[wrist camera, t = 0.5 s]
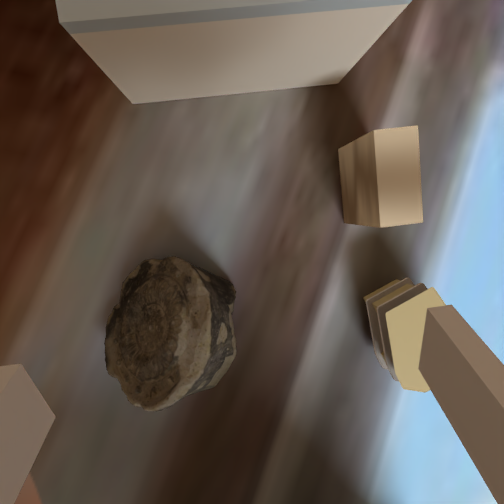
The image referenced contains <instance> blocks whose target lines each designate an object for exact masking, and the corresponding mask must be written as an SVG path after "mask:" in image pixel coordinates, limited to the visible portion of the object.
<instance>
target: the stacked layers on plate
mask: <svg viewBox="0 0 504 504" xmlns="http://www.w3.org/2000/svg"><path fill="white" fill-rule="evenodd" d="M363 298H364V300H365V302H366V306H367V312H368V317H369V323H370V329H371V334H372V340H373V346H374V352H375V355H376V357H377V359H378V361H379V363H380V364H381V366H382V368H383V369H388V370H389V371H390V373H391V375H392V377H393V379H394V380H395V381H399V382H400V384H401V386H402V388H403V389H407V390H413V391H419V392H427V391H429V390H430V388H429V386H428V384H427V383H426V381H425V379H424V378H423V376H422V374H421V372H420V371H419V369H418V367H419V360H420V353H421V347H422V340H423V333H424V326H425V319H426V312H427V308H431V307H438V306H445V305H446V304H445V303H444V302H443V300H442V299H441V297H440V296H439V294H438V293H437V291H436V290H435V289H434V288H433V287H431V288H429V289H427V288H426V286H425V285H424V284H423V283H419V284H417V285H414V284H413V282H412V281H411V279H410V278H405V279H403V280H401V281H400V280H398V279H396V280H394V281H392V282H390V283H388V284H387V285H385V286H383V287H381V288H379V289H378V290H376V291H374V292H372V293H370V294H369V295H367V296H365V297H363Z"/></svg>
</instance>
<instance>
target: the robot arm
mask: <svg viewBox="0 0 504 504" xmlns="http://www.w3.org/2000/svg"><path fill="white" fill-rule="evenodd" d="M418 369H419V371H420V372H421V374H422V376H423V378H424V379H425V381H426V383H427V384H428V386H429V388H430V389H431V391H432V393H433V395H434V396H435V398H436V400H437V401H438V403H439V405H440V406H441V408H442V410H443V412H444V413H445V415H446V417H447V418H448V420H449V422H450V423H451V425H452V427H453V429H454V430H455V432H456V434H457V435H458V437H459V439H460V440H461V442H462V444H463V446H464V447H465V449H466V451H467V452H468V454H469V456H470V457H471V459H472V461H473V463H474V464H475V466H476V468H477V469H478V471H479V473H480V474H481V476H482V478H483V480H484V481H485V483H486V485H487V486H488V488H489V490H490V491H491V493H492V495H493V497H494V498H495V500H496V502H497V503H498V504H504V365H503V364H502V362H501V361H500V360H499V359H498V358H497V357H496V355H495V354H494V353H493V352H492V351H491V350H490V349H489V347H488V346H487V345H486V344H485V343H484V342H483V341H482V339H481V338H480V337H479V336H478V335H477V334H476V332H475V331H474V330H473V329H472V328H471V327H470V326H469V324H468V323H467V322H466V321H465V320H464V319H463V317H462V316H461V315H460V314H459V313H458V312H457V311H456V309H455V308H454V307H453V306H452V305H445V306H438V307H431V308H427V312H426V319H425V326H424V333H423V340H422V347H421V353H420V360H419V367H418ZM55 418H56V416H55V415H54V413H53V412H52V410H51V409H50V407H49V406H48V404H47V403H46V401H45V400H44V398H43V396H42V395H41V393H40V392H39V390H38V389H37V387H36V386H35V384H34V383H33V381H32V380H31V378H30V376H29V375H28V373H27V372H26V370H25V369H24V367H23V366H22V364H13V365H6V366H0V504H14V503H15V501H16V499H17V497H18V495H19V492H20V490H21V488H22V486H23V484H24V482H25V480H26V478H27V476H28V474H29V472H30V470H31V468H32V466H33V463H34V461H35V459H36V457H37V455H38V453H39V451H40V449H41V447H42V445H43V443H44V440H45V438H46V436H47V434H48V432H49V430H50V428H51V426H52V424H53V422H54V420H55Z"/></svg>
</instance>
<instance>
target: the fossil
mask: <svg viewBox="0 0 504 504" xmlns="http://www.w3.org/2000/svg"><path fill="white" fill-rule="evenodd" d="M235 294H236V291H235V289H234V286H233V285H232V284H231V283H230V282H228V281H226V280H225V279H223V278H220V277H218V276H216V275H214V274H212V273H209V272H207V271H205V270H203V269H201V268H198V267H196V266H194V265H192V264H190V263H189V262H187V261H185V260H183V259H181V258H178V257H176V256H171V257H167V258H165V259H164V260H158V259H149V260H144V261H143V262H142V263H141V264H140V265H139V266H137V268H136V269H135V270H134V271H133V272H132V273H131V274H129V276H128V277H127V278H126V280H125V281H124V282H123V285H122V289H121V296H120V302H119V304H118V305H116V306H115V307H114V308H113V311H112V313H111V315H110V316H109V318H108V321H107V326H106V338H105V343H104V344H105V361H106V368H107V371H108V374H109V375H111V376H112V377H114V378H117V379H118V381H119V382H120V384H121V387H122V390H123V392H124V393H125V394H126V396H127V399H128V401H129V402H130V403H131V404H133V405H135V406H137V407H141V406H142V408H143V409H144V410H146V411H160V410H163V409H166V408H168V407H170V406H172V405H173V404H175V403H176V402H178V401H179V400H181V399H182V398H184V397H185V396H188V395H191V394H194V393H196V392H200V391H204V390H208V389H211V388H213V387H215V386H216V385H217V384H218V382H219V381H220V380H221V378H222V377H223V375H224V374H225V373H226V372H227V371H228V369H229V366H230V365H231V363H232V361H233V360H234V358H235V356H236V351H237V349H236V337H235V334H234V325H233V321H232V317H231V314H232V312H233V311H234V300H235Z"/></svg>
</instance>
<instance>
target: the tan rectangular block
mask: <svg viewBox="0 0 504 504" xmlns="http://www.w3.org/2000/svg"><path fill="white" fill-rule="evenodd" d="M338 154H339V166H340V178H341V190H342V202H343V214H344V223H348V224H355V225H363V226H371V227H379V228H382V227H390V226H398V225H406V224H414V223H422V222H423V212H422V193H421V175H420V156H419V138H418V125H417V126H408V127H399V128H390V129H381V130H373V131H371V132H369V133H368V134H366V135H364V136H362V137H360V138H358V139H356V140H354V141H352V142H351V143H349V144H347V145H345V146H343V147H341V148H339V149H338Z"/></svg>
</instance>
